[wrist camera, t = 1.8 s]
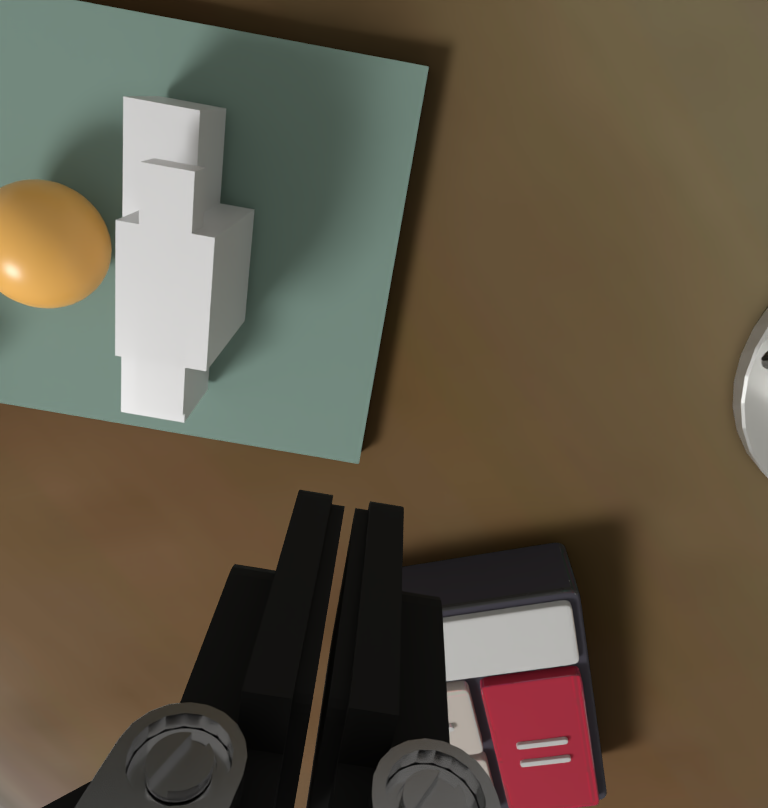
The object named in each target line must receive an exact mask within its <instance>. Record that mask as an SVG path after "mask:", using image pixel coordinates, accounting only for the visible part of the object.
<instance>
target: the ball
mask: <svg viewBox="0 0 768 808" xmlns="http://www.w3.org/2000/svg"><path fill="white" fill-rule="evenodd" d="M111 253H112V248H111V239H110V235H109V232H108V229H107V226H106V224H105V222H104V220H103V218H102V217H101V215H100V213H99V212H98V211H97V209H96V208H95V207H94V206H93V205H92V204H91V203H90V202H89V201H88V200H87V199H86V198H85V197H84V196H82V195H81V194H79V193H78V192H77V191H75V190H73V189H71V188H69V187H67V186H65V185H62V184H60V183H56V182H52V181H48V180H40V179H28V180H21V181H16V182H13V183H10V184H7V185H5V186H3V187H1V188H0V292H1V293H2V294H4V295H5V296H7V297H8V298H10V299H12V300H14V301H16V302H19V303H22V304H24V305H27V306H32V307H37V308H59V307H65V306H69V305H72V304H74V303H77V302H79V301H81V300H83V299H84V298H86V297H87V296H89V295H90V294H91V293H92V292H94V291H95V290H96V289H97V288H98V286H99V285H100V284H101V283H102V281H103V279H104V278H105V276H106V274H107V271H108V269H109V265H110V261H111Z"/></svg>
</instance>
